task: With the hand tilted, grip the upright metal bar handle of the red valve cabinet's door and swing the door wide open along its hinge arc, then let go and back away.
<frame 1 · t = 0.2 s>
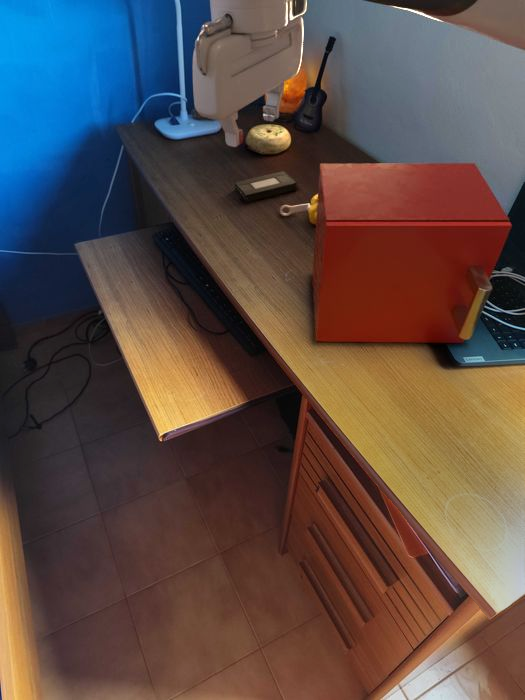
hand: (253, 131, 63), 35 cm above the table, tool pointing down, fingers open, 8 cm apart
bagel: (268, 147, 141), on the table
door: (404, 300, 73), point 12 cm above the table, hinge at 0.0°
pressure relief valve: (304, 220, 112), on the table
vhs tape: (265, 190, 123), on the table
valve cabinet: (381, 305, 90), on the table
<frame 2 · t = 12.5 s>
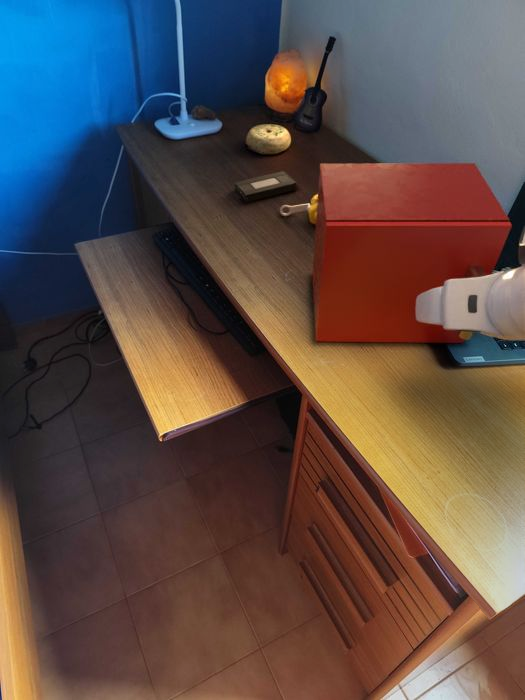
hand: (471, 311, 72), 11 cm above the table, tool tilted 45°, fingers closed on door, 2 cm apart
door: (404, 300, 73), point 12 cm above the table, hinge at 0.0°, touching gripper
everything else where it was.
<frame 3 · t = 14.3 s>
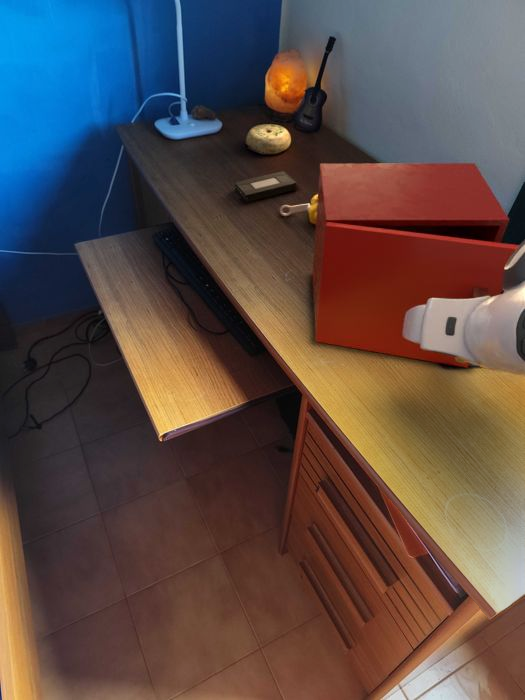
hand: (469, 334, 68), 11 cm above the table, tool tilted 45°, fingers closed on door, 2 cm apart
door: (401, 313, 71), point 12 cm above the table, hinge at 13.1°, touching gripper
everything else where it was.
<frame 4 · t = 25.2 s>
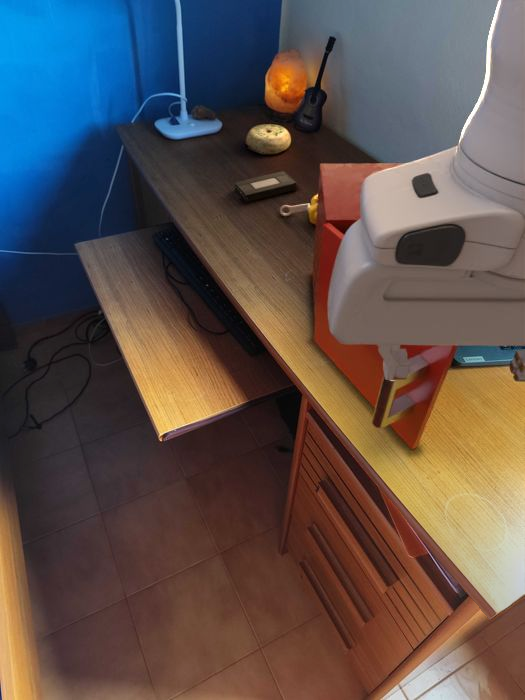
hand: (457, 374, 35), 33 cm above the table, tool pointing down, fingers open, 8 cm apart
door: (354, 344, 66), point 12 cm above the table, hinge at 58.8°
everything else where it was.
at the end: door at +59° (first picture: +0°); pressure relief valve moved 0.2 cm from its start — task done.
